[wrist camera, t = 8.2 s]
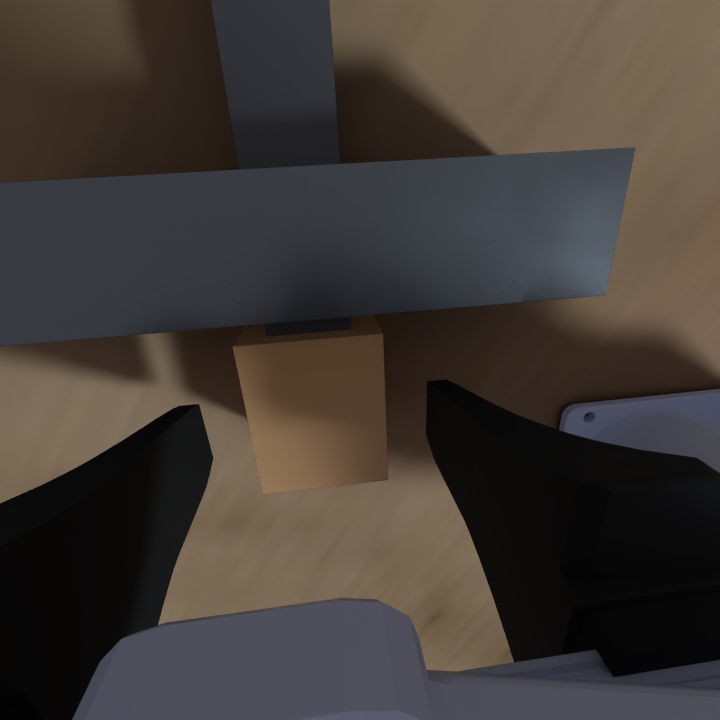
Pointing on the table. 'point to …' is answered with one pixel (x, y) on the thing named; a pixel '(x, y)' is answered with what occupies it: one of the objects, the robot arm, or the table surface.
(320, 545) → the table surface
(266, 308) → the housing
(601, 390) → the table surface
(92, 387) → the table surface
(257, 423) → the plug
